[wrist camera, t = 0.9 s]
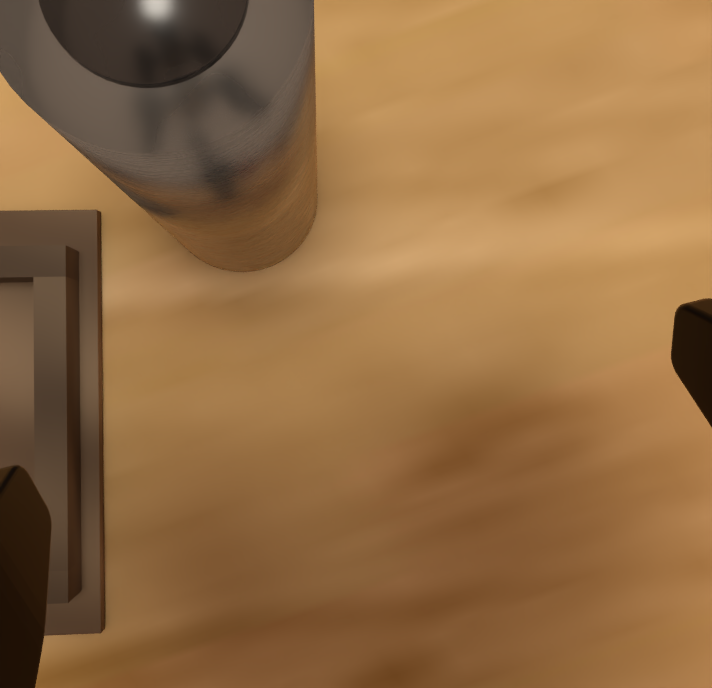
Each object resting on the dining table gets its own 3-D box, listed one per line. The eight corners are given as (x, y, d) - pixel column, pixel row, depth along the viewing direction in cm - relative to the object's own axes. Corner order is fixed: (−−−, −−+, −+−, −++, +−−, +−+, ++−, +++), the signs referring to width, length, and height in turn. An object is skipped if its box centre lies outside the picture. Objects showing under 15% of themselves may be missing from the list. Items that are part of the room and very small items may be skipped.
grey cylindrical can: (319, 270, 24) (316, 147, 10) (166, 272, 23) (-31, 148, 10) (316, 122, 24) (309, -183, 11) (164, 123, 24) (-33, -190, 10)
